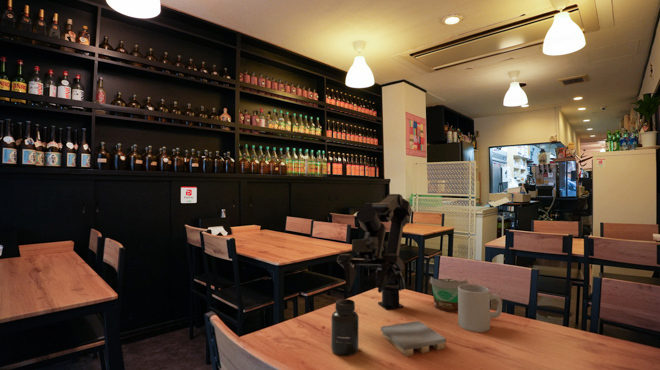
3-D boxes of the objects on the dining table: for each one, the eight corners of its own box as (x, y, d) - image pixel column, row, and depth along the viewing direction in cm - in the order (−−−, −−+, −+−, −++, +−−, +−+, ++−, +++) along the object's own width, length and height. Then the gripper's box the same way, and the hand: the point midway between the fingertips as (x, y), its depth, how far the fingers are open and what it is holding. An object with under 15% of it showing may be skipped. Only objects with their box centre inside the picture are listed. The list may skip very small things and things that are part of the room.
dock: (380, 336, 91) (380, 326, 91) (418, 329, 95) (418, 320, 95) (404, 356, 80) (404, 346, 80) (446, 348, 84) (446, 338, 84)
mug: (463, 331, 93) (462, 292, 93) (454, 319, 102) (454, 283, 102) (508, 333, 92) (507, 293, 92) (495, 321, 101) (495, 284, 101)
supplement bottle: (339, 359, 79) (339, 308, 79) (326, 347, 85) (326, 300, 85) (364, 352, 82) (363, 303, 82) (349, 341, 88) (349, 295, 88)
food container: (428, 310, 110) (427, 280, 110) (430, 304, 115) (429, 275, 115) (468, 315, 105) (468, 283, 105) (468, 309, 111) (468, 278, 111)
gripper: (334, 227, 99) (320, 277, 91) (393, 225, 90) (384, 280, 81) (351, 245, 107) (339, 293, 98) (407, 244, 97) (400, 297, 88)
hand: (363, 291), depth 91 cm, fingers open, 9 cm apart
